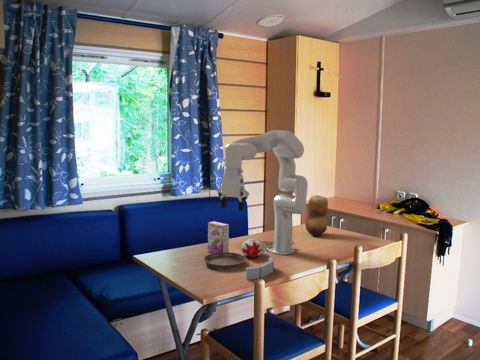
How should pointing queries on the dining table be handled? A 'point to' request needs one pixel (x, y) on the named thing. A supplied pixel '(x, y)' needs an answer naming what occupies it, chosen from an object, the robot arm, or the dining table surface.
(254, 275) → the grey curved bar
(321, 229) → the butternut squash
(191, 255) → the dining table surface
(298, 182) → the robot arm
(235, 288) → the dining table surface
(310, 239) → the dining table surface
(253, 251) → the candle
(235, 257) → the plant saucer
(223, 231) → the candy bar box
